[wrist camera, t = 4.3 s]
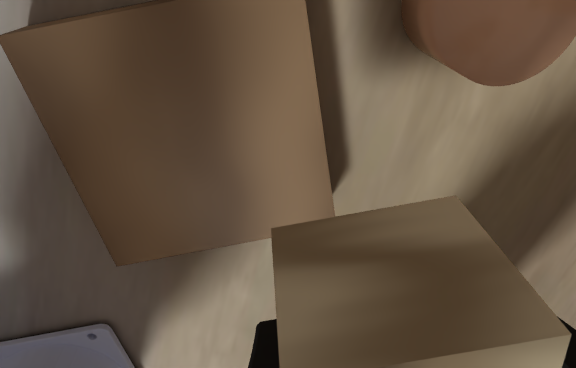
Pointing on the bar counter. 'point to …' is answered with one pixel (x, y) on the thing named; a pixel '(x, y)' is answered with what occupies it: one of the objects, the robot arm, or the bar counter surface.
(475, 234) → the block
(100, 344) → the robot arm
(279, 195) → the board
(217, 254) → the bar counter surface
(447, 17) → the brown rounded piece
